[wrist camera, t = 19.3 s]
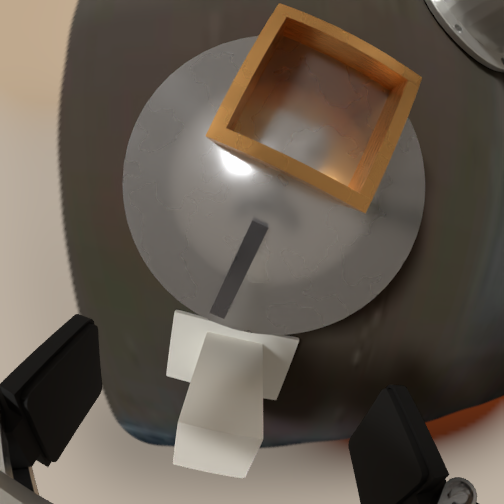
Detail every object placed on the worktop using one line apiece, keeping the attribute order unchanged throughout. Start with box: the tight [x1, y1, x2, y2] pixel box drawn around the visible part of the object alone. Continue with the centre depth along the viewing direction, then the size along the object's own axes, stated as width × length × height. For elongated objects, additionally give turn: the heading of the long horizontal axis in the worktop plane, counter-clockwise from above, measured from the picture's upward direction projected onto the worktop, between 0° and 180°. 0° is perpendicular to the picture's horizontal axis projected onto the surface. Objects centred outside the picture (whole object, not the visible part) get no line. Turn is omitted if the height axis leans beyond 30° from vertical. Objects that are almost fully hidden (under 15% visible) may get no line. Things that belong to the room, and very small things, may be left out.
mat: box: [166, 309, 299, 400], centre depth 21 cm, size 9×6×1 cm, turn 76°
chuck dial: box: [123, 3, 425, 335], centre depth 14 cm, size 15×15×5 cm
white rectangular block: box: [173, 331, 263, 478], centre depth 17 cm, size 4×4×9 cm
